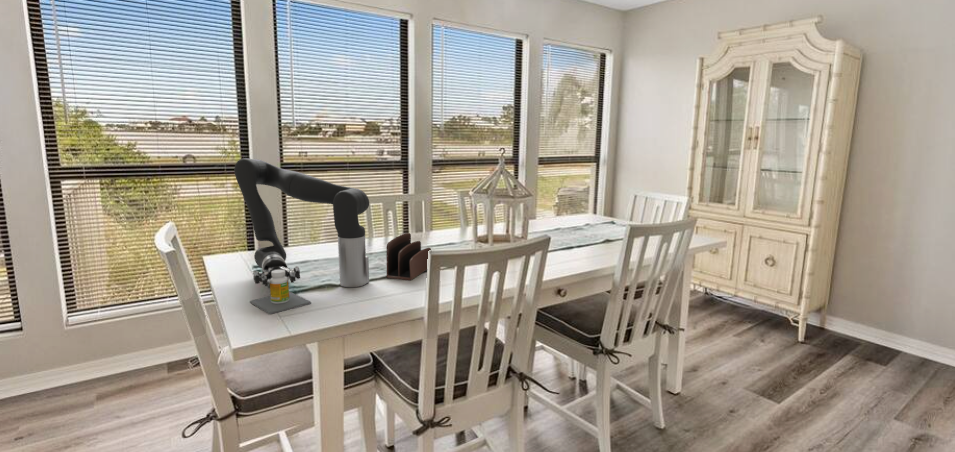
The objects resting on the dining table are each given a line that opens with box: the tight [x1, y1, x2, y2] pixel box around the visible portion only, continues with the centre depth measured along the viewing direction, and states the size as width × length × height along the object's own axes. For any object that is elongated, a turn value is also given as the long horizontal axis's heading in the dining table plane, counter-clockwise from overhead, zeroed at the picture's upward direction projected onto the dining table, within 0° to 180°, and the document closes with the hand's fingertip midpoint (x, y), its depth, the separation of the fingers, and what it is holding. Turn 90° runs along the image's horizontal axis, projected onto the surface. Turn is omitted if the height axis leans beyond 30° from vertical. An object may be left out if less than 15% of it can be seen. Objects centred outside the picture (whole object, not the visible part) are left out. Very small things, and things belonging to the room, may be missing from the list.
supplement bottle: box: [269, 270, 290, 304], centre depth 156 cm, size 5×5×10 cm
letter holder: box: [385, 232, 432, 281], centre depth 190 cm, size 10×20×14 cm, turn 163°
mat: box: [249, 290, 312, 315], centre depth 157 cm, size 13×14×1 cm
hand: (279, 281), depth 153 cm, fingers open, 7 cm apart
